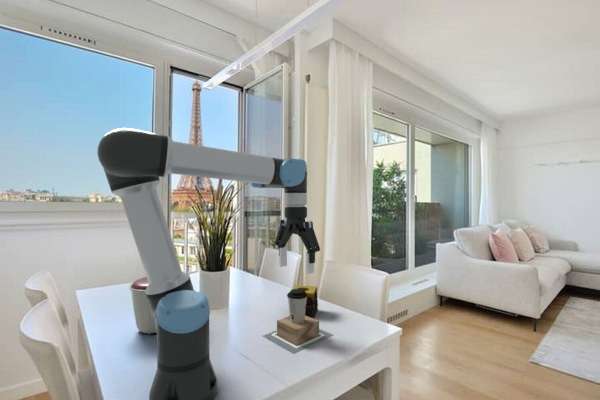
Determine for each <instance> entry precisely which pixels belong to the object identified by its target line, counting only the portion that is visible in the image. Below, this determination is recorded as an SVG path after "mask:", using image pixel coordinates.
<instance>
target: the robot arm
mask: <svg viewBox="0 0 600 400" xmlns="http://www.w3.org/2000/svg"><path fill="white" fill-rule="evenodd" d="M97 158H98V161H99V162H100V164H101V166H102V168H103V172H104V174H105V177H106V180H107V184H108V186H109V188H110V191H111V193H112V194H114V195H116V196H118V197H119V198H120V199H121V203H122V206H123V209H124V212H125V216H126V219H127V220H128V225H129V228H130V230H131V233H132V237H133V239H134V242H135V246H136V248H137V251H138V254H139V257H140V261H141V263H142V264H141V265H142V266H143V269H144V273H145V277H147V279H148V282H149V285H148V287H147V288H146V290H145V293H146V296H147V299H148V303H149V306H150V309H151V312H152V315H153V318H154V322H155V327H156V332H157V334H156V357H157V358H156V359H157V360H156V363H157V367H156V371H155V374H154V377H153V381H152V383H151V384H152V385H151V387H150V390H149V394H148V400H214V399H215V398H216V396H217V393H218V378H217V375H216V372H215V369H214V367H213V364H212V362H211V359H210V315H211V307H210V304H209V299H208V297H207V295H206V294H204V293H203V292H200V291H196V290H195V289H194V285H193V283H192V280H191V276H190V274H188V273H187V272H184V271H183V270H182V268H181V265H180V261H179V257H178V254H177V251H176V249H175V245H174V241H173V239H172V235H171V233H170V229H169V225H168V223H167V220H166V216H165V213H164V210H163V207H162V204H161V200H160V197H159V193H158V190H157V187H158V186H159V184H160V182H161V179H160V177H161V178H165V177H167V176H168V175H170V174H171V175H179V176H180V175H181V176H191V177H200V178H207V179H208V178H209V179H217V180H224V181H225V180H226V181H232V182H233V181H235V182H244V183H249V184H250V186H251V187H252V188H258V189H283V190H284V199H283V201H284V204H283V205H284V206H285V207H284V219H280V221H279V228H278V231H277V234H276V236H275V240H274V246H277V247H278V257H279V267H281V268H282V267H287V266H288V248H287V247H288V246H287V243H288V242H289V240H290V239H291V237H292V235H293V234H294V235H297V236H298V237H300V239H301V241H302V243H303V245H304V248H305V249H306V251H307V252H306V253H305V263H306V264H305V273H306V275H310V274H313V273H315V263H316V253H317V252H320V251H321V247H320V244H319V242H318V238H317V236H316V235H317V234H316V233H315V229H314V223H313V221H312V220H311V221H310V220H309V221H306V218H307V217H308V207H307V206H306V205H308V164H307V161H306V160H305V159H302V158H300V159H299V158H297V159H296V158H290V157H289V158H285V159H283V158H276V157H270V156H265V155H259V154H254V153H253V154H252V153H246V152H239V151H235V150H228V149H223V148H215V147H210V146H204V145H198V144H191V143H187V142H186V143H185V142H182V141H181V142H179V141H174V140H173V139H172V138H171V136H169V135H165V134H164V135H163V134H159V133H155V132H150V131H145V130H140V129H136V128H130V127H129V128H127V127H122V128H116V129H113V130H111V131H109V132H107V133H105V135H103V136H102V138H101V139H100V141H99V143H98V146H97ZM285 218H286V219H285Z"/></svg>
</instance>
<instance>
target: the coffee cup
mask: <svg viewBox="0 0 600 400" xmlns="http://www.w3.org/2000/svg"><path fill="white" fill-rule="evenodd" d="M292 289H293V288H292ZM292 289H290V290H289V292H288V293H287V294H286V297H287V303H288V308H289V309H288V310H289V311H288V312H289V316H290V319H291V322H292V323H296V324H299V323H303V322H304V319H305V310H306V301H307V296H308V295H307V293H306V292H305V290H303V289H293V290H292Z"/></svg>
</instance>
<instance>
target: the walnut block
mask: <svg viewBox="0 0 600 400" xmlns="http://www.w3.org/2000/svg"><path fill="white" fill-rule="evenodd" d="M319 329H320V321H319V320H318V319H315V318H312V317H308V316H306V315H305V319H304V322H303V323H299V324H296V323H292V322H291V319H290V315H288V316H285V317H282V318H280V319H277V320H276V331H277V335H278V336H279V337H281V338H283V339H285V340H287V341H289V342H291V343H293V344H295V345H296V346H297V345H300V344H302V343H304V342H306V341H309V340H311V339H313V338H315V337H318V336H319Z"/></svg>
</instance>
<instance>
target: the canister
mask: <svg viewBox="0 0 600 400" xmlns="http://www.w3.org/2000/svg"><path fill="white" fill-rule="evenodd" d="M148 285H149V282H148V279H147V276H144V277H141V278H138V279H136V280H135V281H133V282H132V283H130V284H129V286H128V288H129V290H130V291H131V298H132V306H133V314H134V319H135V326H136V328H137V330H138V331H139V332H140V331H141V332H140V333H142V332H143V333H142V334H145V333H157V332H156V327H155V322H154V318H153V315H152V312H151V309H150V306H149V303H148V299H147V296H146V293H145V290H146V288H147V287H148Z"/></svg>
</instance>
